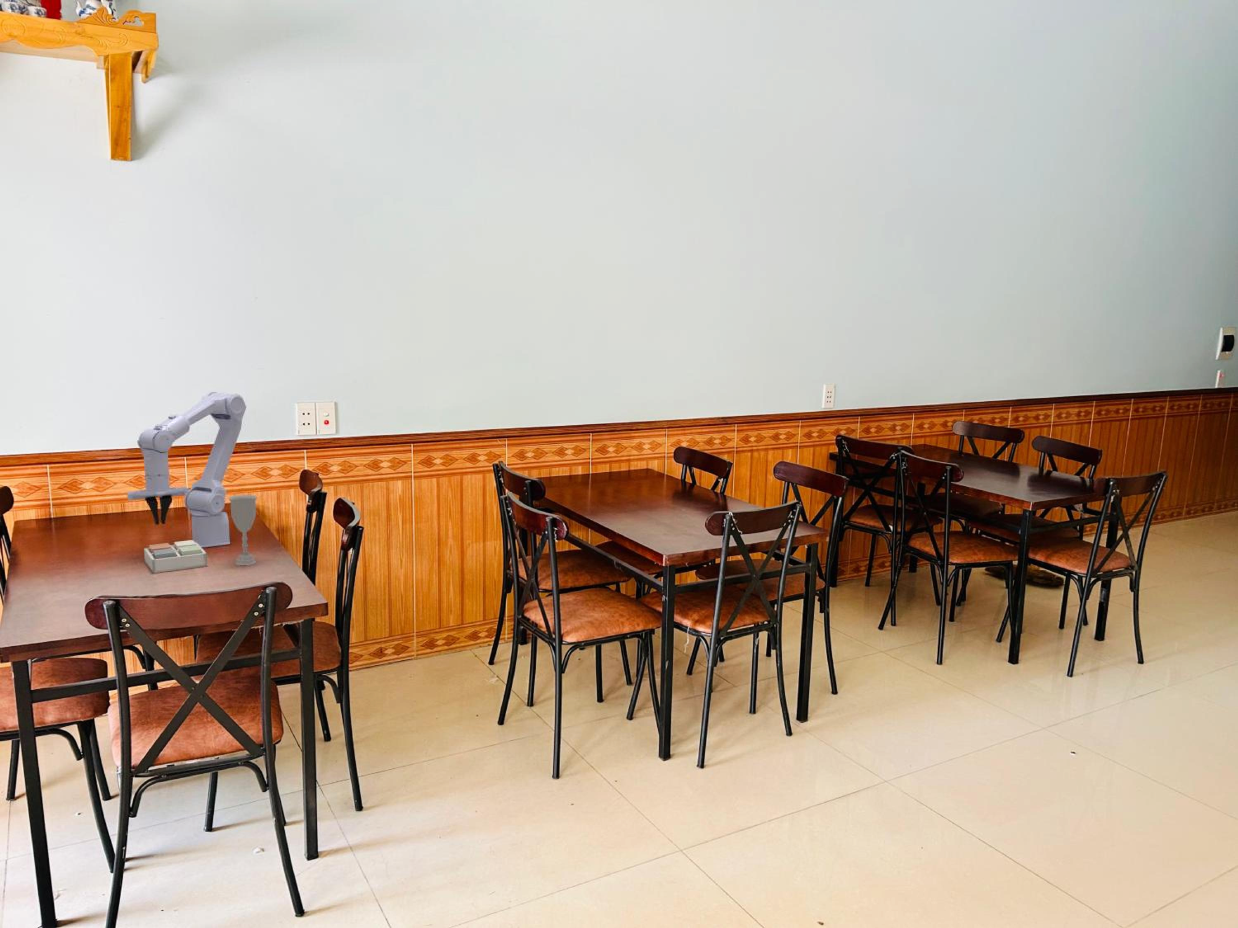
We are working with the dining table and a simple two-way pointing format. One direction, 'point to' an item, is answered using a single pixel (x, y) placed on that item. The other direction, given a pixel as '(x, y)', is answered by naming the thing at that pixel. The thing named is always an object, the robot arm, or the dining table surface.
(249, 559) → the chalice
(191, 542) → the key ivory
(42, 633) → the dining table surface
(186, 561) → the keypad
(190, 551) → the key sage
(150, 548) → the key terracotta
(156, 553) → the key slate
